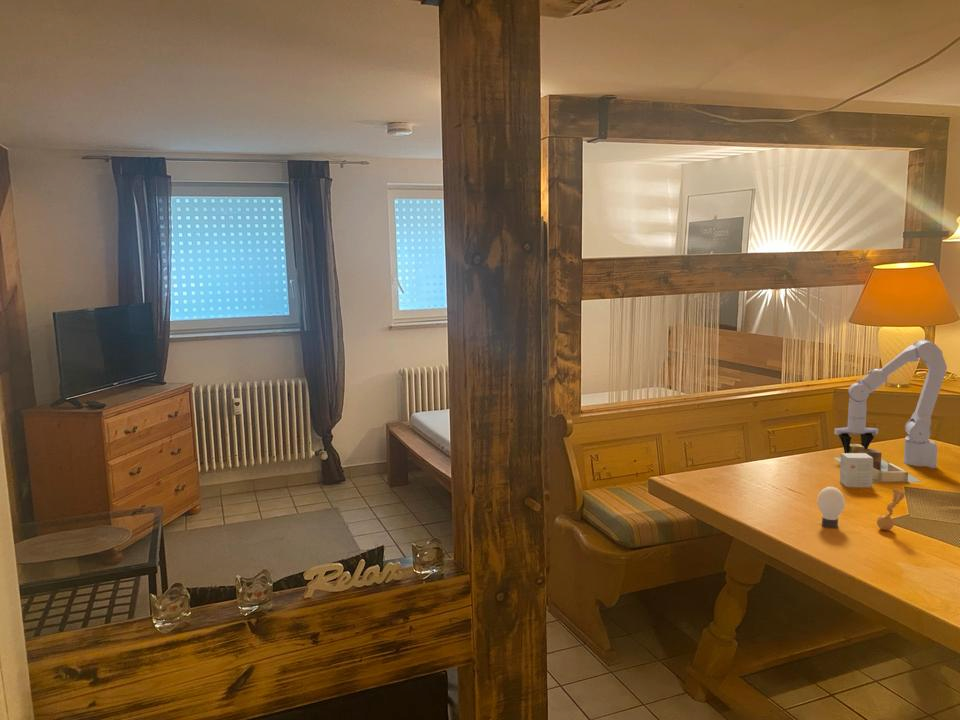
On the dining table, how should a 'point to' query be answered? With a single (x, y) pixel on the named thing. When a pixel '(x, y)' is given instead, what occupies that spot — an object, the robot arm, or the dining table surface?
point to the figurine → (890, 511)
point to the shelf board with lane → (890, 473)
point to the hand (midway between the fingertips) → (855, 453)
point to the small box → (856, 470)
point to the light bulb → (830, 506)
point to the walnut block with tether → (871, 452)
